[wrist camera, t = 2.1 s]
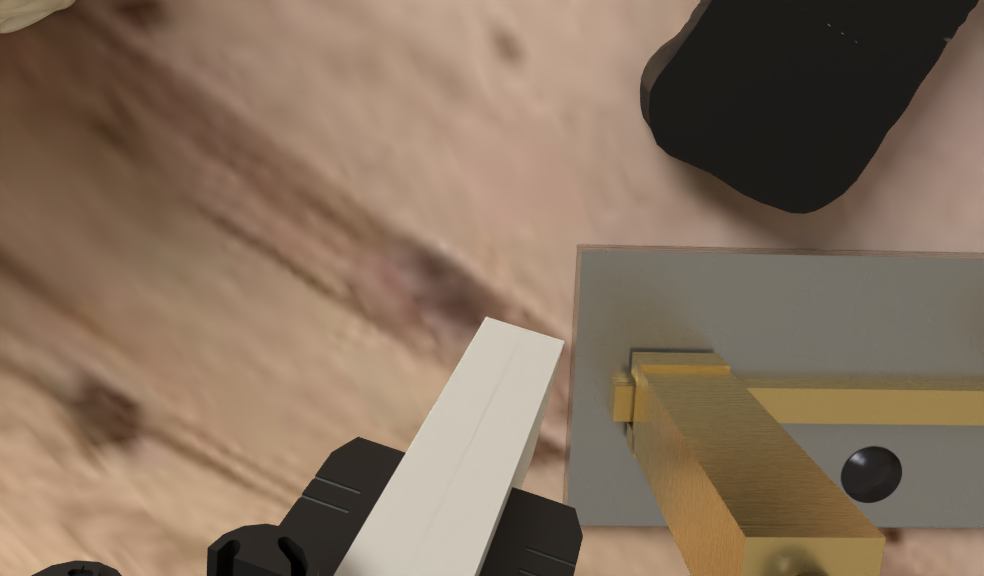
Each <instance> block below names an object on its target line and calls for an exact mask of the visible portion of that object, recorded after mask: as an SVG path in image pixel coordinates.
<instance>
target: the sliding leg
mask: <svg viewBox="0 0 984 576" xmlns="http://www.w3.org/2000/svg"><path fill="white" fill-rule="evenodd" d="M631 374H632V376H633V377H634V379H635V381H636V393H635V406H634V419H633V422H627V436H626V443H627V445H628V447H629V449H630V451H631V454H632V456H633V458H636V459H637V461H638V463H639V465H640V467H641V469H642V471H643V474H644V476H645V478H646V480H647V482H648V484H649V486H650V488H651V491H652V493H653V495H654V497H655V499H656V501H657V503H658V505H659V508H660V510H661V512H662V514H663V516H664V518H665V520H666V522H667V525H668V527H669V529H670V531H671V533H672V535H673V537H674V539H675V542H676V544H677V546H678V548H679V550H680V552H681V554H682V556H683V559H684V561H685V563H686V565H687V567H688V569H689V571H690V573H691V575H692V576H880V570H881V564H882V558H883V552H884V546H885V540H886V538H885V537H884V535H883V534H882V533H881V532H880V531H879V530H878V529H877V528H876V527H875V526H874V525H873V524H872V523H871V522H870V520H869V519H868V518H867V517H866V516H865V515H864V514H863V513H862V512H861V511H860V510H859V509H858V508H857V507H856V505H855V504H854V503H853V502H852V501H851V500H850V499H849V498H848V497H847V496H846V495H845V494H844V493H843V491H842V490H841V489H840V488H839V487H838V486H837V485H836V484H835V483H834V482H833V481H832V480H831V479H830V478H829V476H828V475H827V474H826V473H825V472H824V471H823V470H822V469H821V468H820V467H819V466H818V465H817V464H816V463H815V461H814V460H813V459H812V458H811V457H810V456H809V455H808V454H807V453H806V452H805V451H804V450H803V449H802V448H801V446H800V445H799V444H798V443H797V442H796V441H795V440H794V439H793V438H792V437H791V436H790V435H789V434H788V432H787V431H786V430H785V429H784V428H783V427H782V426H781V425H780V424H779V423H778V422H777V421H776V420H775V419H774V417H773V416H772V415H771V414H770V413H769V412H768V411H767V410H766V409H765V408H764V407H763V406H762V405H761V404H760V402H759V401H758V400H757V399H756V398H755V397H754V396H753V395H752V394H751V393H750V392H749V391H748V390H747V389H746V387H745V386H744V385H743V384H742V383H741V382H740V381H739V380H738V379H737V378H736V377H735V376H734V375H733V373H732V372H731V371H730V365H729V364H728V363H727V362H726V361H725V360H724V359H723V357H722V356H721V355H720V354H719V353H659V352H633V355H632V369H631Z"/></svg>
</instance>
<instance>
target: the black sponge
mask: <svg viewBox="0 0 984 576" xmlns="http://www.w3.org/2000/svg"><path fill="white" fill-rule="evenodd" d="M978 1H979V0H701V1H700V3H699V4H698V6H697V7H696V8H695V9H694V11H693V12H692V14H691V17H690V19H689V21H688V22H687V23H686V24H685V25H684V27H683V28H682V30H681V31H680V32H679V33H678V34H677V35H676V36H675V37H674V38H673V39H671V40H670V41H668V42H667V43H665V44H664V45H662V46H661V47H660V48H659V50H658V51H657V52H656V53H655V54H654V55H653V56H652V57H651V58H650V60H649V61H648V63H647V65H646V66H645V68H644V71H643V74H642V77H641V85H640V103H641V110H642V114H643V118H644V119H645V121H646V122H647V124H648V125H649V126H650V128H651V131H652V133H653V135H654V138H655V140H656V143H657V145H658V146H660V147H661V148H662V149H663V150H664V151H665V152H666V153H668V154H669V155H670V156H672V157H675V158H677V159H679V160H682V161H684V162H686V163H689V164H691V165H693V166H696V167H698V168H700V169H703V170H705V171H707V172H709V173H711V174H713V175H714V176H716V177H717V178H719V179H720V180H722V181H723V182H725V183H726V184H728V185H729V186H731V187H733V188H734V189H736V190H737V191H739V192H740V193H742V194H744V195H746V196H748V197H750V198H753V199H755V200H757V201H759V202H761V203H764V204H767V205H770V206H772V207H775V208H778V209H781V210H784V211H787V212H790V213H800V214H805V213H809V212H813V211H816V210H818V209H820V208H822V207H824V206H826V205H827V204H829V203H830V202H832V201H833V200H835V199H836V198H838V197H839V196H841V195H842V194H844V192H845V191H846V190H847V189H848V188H849V187H850V186H851V185H852V184H853V183H854V182H855V181H856V180H857V179H858V177H859V176H860V174H861V173H862V172H863V170H864V169H865V167H866V166H867V164H868V163H869V161H870V160H871V158H872V157H873V156H874V154H875V153H876V151H877V150H878V148H879V146H880V144H881V142H882V141H883V139H884V137H885V135H886V133H887V132H888V131H889V129H890V128H891V127H892V126H893V125H894V124H895V123H896V122H897V120H898V119H899V118H900V116H901V115H902V113H903V112H904V111H905V109H906V108H907V106H908V105H909V103H910V101H911V99H912V97H913V96H914V94H915V92H916V90H917V89H918V87H919V86H920V84H921V82H922V81H923V80H924V78H925V77H926V76H927V74H928V73H929V72H930V70H931V69H932V67H933V66H934V65H935V63H936V62H937V61H938V59H939V57H940V55H941V53H942V51H943V50H944V48H945V46H946V44H947V43H948V42H949V41H950V40H951V39H952V38H953V36H954V35H955V33H956V31H957V29H958V27H959V26H960V25H962V24H963V23H964V22H965V21H966V18H967V16H968V14H969V12H970V11H971V10H972V9H973V8H974V7H975V6H976V4H977V2H978Z"/></svg>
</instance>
